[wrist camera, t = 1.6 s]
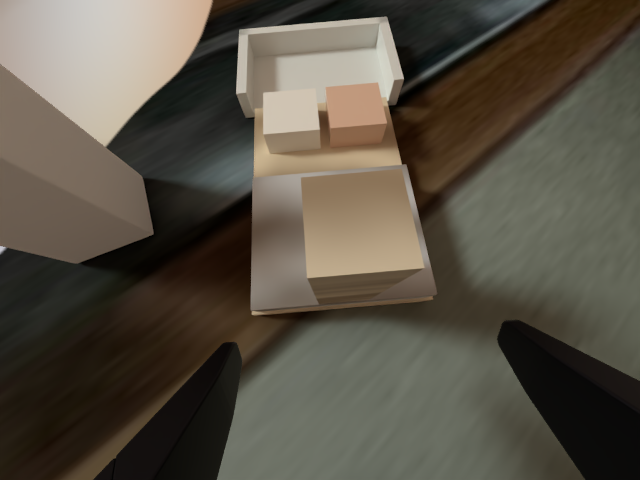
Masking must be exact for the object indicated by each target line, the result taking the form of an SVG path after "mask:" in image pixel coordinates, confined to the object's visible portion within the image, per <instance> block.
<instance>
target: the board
mask: <svg viewBox="0 0 640 480" xmlns="http://www.w3.org/2000/svg"><path fill="white" fill-rule="evenodd" d="M382 103H383V107H384V112H385V116H386V121H387V125H386V129H385V132H384V136H383V139H382V142H381V144H371V145H359V146H348V147H336V148H330V142H329V133H328V125H327V116H326V102H325V103H317V107H318V117H319V127H320V147H321V149H317V150H305V151H294V152H282V153H271V154H270V153H269V150H268V147H267V144H266V141H265V138H264V135H263V108H256V109H255V135H254V177H266V176H277V175H289V174H300V173H312V172H324V171H335V170H347V169H358V168H370V167H381V166H393V165H402V163H401V159H400V154H399V150H398V146H397V142H396V137H395V133H394V129H393V124H392V120H391V116H390V111H389V107H388V103H387V99H386V97H382ZM429 300H433V296H430V297H426V298H415V299H403V300H391V301H380V302H368V303H356V304H344V305H333V306H321V307H309V308H297V309H286V310H274V311H262V312H257V311H252V315H257V316H258V315H270V314H281V313H293V312H305V311H317V310H328V309H340V308H352V307H364V306H375V305H387V304H399V303H411V302H422V301H429Z"/></svg>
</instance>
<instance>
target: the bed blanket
mask: <svg viewBox="0 0 640 480" xmlns="http://www.w3.org/2000/svg"><path fill="white" fill-rule="evenodd" d="M434 295H438V294H437V290H436V286H435V281H434V277H433V273H432V269H431V265H430V261H429V256H428V252H427V248H426V244H425V240H424V236H423V231H422V227H421V223H420V219H419V215H418V211H417V206H416V202H415V198H414V194H413V190H412V186H411V182H410V177H409V173H408V169H407V165H406V164H405V165H393V166H381V167H370V168H358V169H347V170H335V171H324V172H312V173H300V174H289V175H277V176H266V177H254V178H253V194H252V256H251V311H257V312H262V311H274V310H286V309H297V308H309V307H321V306H333V305H344V304H356V303H368V302H380V301H391V300H403V299H415V298H426V297H430V296H434Z"/></svg>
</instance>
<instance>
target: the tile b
mask: <svg viewBox="0 0 640 480" xmlns="http://www.w3.org/2000/svg"><path fill="white" fill-rule="evenodd" d="M326 116H327V125H328V133H329V142H330V148H336V147H348V146H359V145H371V144H381V142H382V139H383V136H384V132H385V129H386V125H387V121H386V116H385V112H384V107H383V103H382V98H381V94H380V89H379V85H378V82H377V83H366V84H354V85H343V86H331V87H326Z"/></svg>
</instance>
